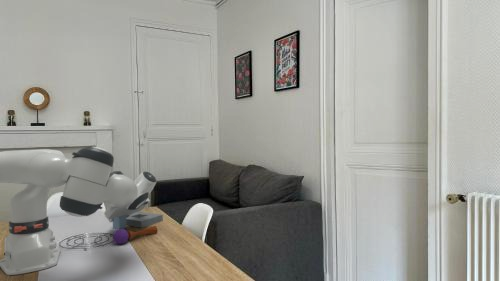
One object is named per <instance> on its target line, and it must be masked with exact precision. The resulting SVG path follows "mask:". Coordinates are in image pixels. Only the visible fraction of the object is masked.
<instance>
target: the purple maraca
mask: <svg viewBox="0 0 500 281" xmlns="http://www.w3.org/2000/svg"><path fill="white" fill-rule="evenodd" d="M157 233H158V227H157V226H156V225H154V226H150V227H147V228H145V229H140V230H138V231H132V230H129V229H125V228H124V229H118V230H117V229H116V230H115V231H114V233H113V234H112V240H113V242H114V244H118V245H123V244H125V243H126V242H127V241H131V239H132V238H134V237H135V236H139V235H140V236H141V235H154V234H157Z"/></svg>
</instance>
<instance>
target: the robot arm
mask: <svg viewBox="0 0 500 281" xmlns="http://www.w3.org/2000/svg"><path fill="white" fill-rule="evenodd" d="M71 155H72V157H71V158H67V157H66V155H65V154H64V153H63V152H62V151H61V150H56V149H49V148H44V149H43V148H40V149H20V150H19V149H17V150H4V151H0V184H2V183H4V184H16V185H17V184H19V185H26V186H25V188H24V189H22V190H21V191H19V192H17V193H15V194H14V195H13V196H12V197H11V198H10V201H9V215H10V216H9V218H10V220H9V222H8V232H9V234H8V235H7V236H5V238H4V252H3V256H4V258H2V259H0V268H1V270H2V271H3V273H5V275H7V276H12V275H13V276H14V275H23V274H27V273H31V272H32V273H33V272H38V271H41V270H46V269H49V268H52V267H54V266H55V267H56V265H57V263H58V261H59V258H60V255H61V249H59V248H57V241H55V240H56V236H55V235H54V230H52V229H50V228H49V226H50V225H49V223H50V221H49V216H48V209H47V207H48V205H47V204H48V195H49V193H50V189H51V188H58V187H62V186H63V185H64V188H63V192H62V195H61V196H60V200H59V208H60V209H61V211H64V212H65V214H68V215H69V216H72V217H77V218H81V217H89V216H91V215H94V214H95V213H96V212H97V211H99V210H102V209H104V206H103V205H104V204H103V203H105V204H108V205H109V206H108V207H107V209H106V210H105V211H104V216H105V217H106V219H107V220H108V222H109V223H113V221H114V218H116V217H120V216H123V215H127V216H126V218H128V217H129V216H130V215H131V214H133V213H134V212H142V210H144V209H145V207H147V205H148V204H149V203H150V202H151V200H150V199H149V196H150V194H151V192H152V191H153V189H154V188H155V186H156V184H157V178H156V177H155V176H154V175H153V173H150V172H149V171H145V170H144V171H142V172H141V173H140V174H139V175H138V176H136V178H135V179H134V180H133V179H132V178H130V177H129V176H126V175H125V174H124V173H123V172H122V171H120V170H114V171H112V172H111V170H112V168H113V167H114V162H115V160H114V156H113V154H112V153H110V152H109V151H108V150H107V149H105V148H103V147H100V146H85V147H84V148H83V147H82V148H81V149H80V150H78V151H77V152H72V153H71ZM102 206H103V207H102Z"/></svg>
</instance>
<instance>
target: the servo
mask: <svg viewBox="0 0 500 281" xmlns="http://www.w3.org/2000/svg"><path fill="white" fill-rule="evenodd" d="M126 216H127V215H123V216H120V217H116V218H114V221H113V222H112V229H113V230H116V231H117V230H118V229H124V230H125V229H127V225H126Z"/></svg>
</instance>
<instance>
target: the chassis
mask: <svg viewBox="0 0 500 281" xmlns="http://www.w3.org/2000/svg"><path fill="white" fill-rule="evenodd" d="M163 218H164V216H163V214H158V213H151V212H144V211H138V212H134V213H133V214H131V215H130V216H129V217H128V218H126V226H129V227H136V228H145V227H148V226H151V225H154V224H157V223H159V222H163V221H164V219H163Z"/></svg>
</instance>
